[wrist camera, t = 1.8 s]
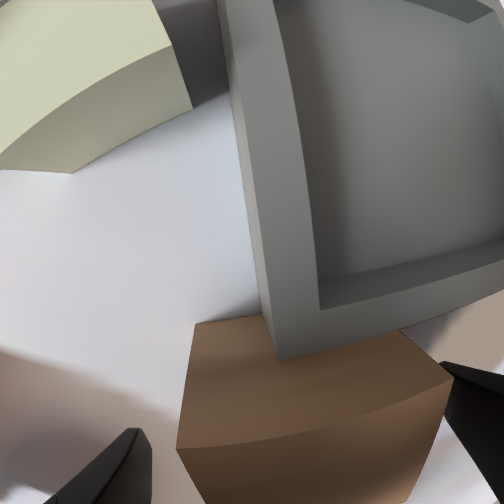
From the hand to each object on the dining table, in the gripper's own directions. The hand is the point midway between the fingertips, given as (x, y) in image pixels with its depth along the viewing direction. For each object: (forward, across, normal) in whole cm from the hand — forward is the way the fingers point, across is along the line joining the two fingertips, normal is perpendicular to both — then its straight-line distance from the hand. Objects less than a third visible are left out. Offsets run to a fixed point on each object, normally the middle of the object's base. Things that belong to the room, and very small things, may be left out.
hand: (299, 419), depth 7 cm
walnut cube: (+2, 0, 0) cm, 2 cm away
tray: (+2, -5, -8) cm, 10 cm away
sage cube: (+2, +4, -10) cm, 11 cm away
